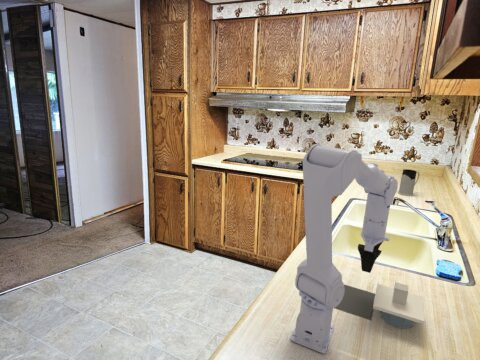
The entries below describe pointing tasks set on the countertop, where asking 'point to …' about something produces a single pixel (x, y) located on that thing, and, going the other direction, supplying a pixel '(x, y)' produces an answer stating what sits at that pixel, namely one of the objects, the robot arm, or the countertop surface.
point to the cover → (399, 302)
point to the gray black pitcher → (408, 182)
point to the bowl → (396, 320)
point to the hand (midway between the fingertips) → (368, 265)
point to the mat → (357, 302)
